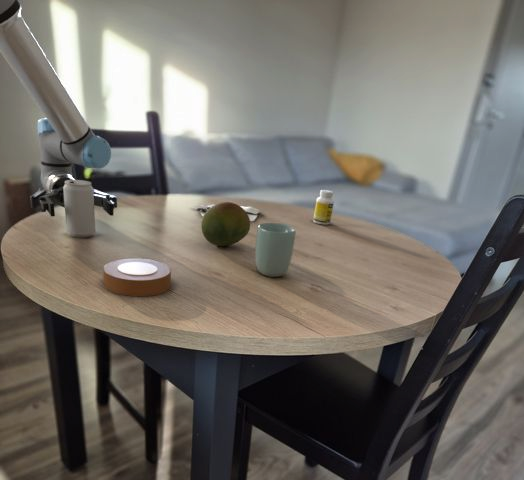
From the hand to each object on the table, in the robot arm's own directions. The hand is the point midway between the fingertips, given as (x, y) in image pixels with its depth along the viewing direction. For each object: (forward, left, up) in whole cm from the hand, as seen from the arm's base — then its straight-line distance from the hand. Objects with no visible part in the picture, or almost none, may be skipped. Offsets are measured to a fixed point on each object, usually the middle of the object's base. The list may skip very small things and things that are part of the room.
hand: (82, 209), depth 108 cm
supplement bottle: (+56, +49, -7) cm, 75 cm away
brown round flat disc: (+20, -23, -7) cm, 31 cm away
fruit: (+31, +10, -7) cm, 33 cm away
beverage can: (-2, +3, -7) cm, 8 cm away
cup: (+44, -7, -7) cm, 45 cm away
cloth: (+26, +45, -7) cm, 52 cm away
